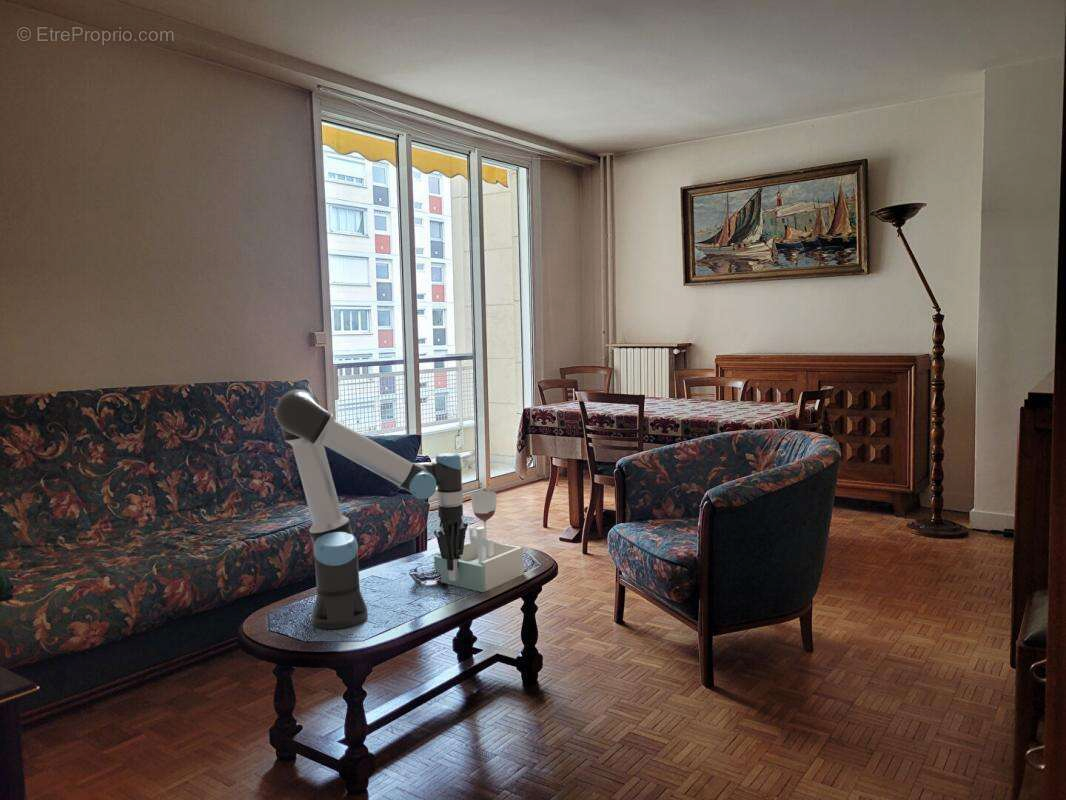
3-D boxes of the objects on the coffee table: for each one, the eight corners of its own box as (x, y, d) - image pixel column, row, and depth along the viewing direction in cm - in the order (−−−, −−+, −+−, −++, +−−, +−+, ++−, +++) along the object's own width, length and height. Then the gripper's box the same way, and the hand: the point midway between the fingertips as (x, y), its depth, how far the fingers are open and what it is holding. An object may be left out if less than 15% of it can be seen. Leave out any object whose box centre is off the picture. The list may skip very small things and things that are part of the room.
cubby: (484, 591, 235) (483, 562, 234) (439, 580, 247) (438, 553, 246) (523, 574, 250) (522, 547, 249) (479, 564, 262) (478, 538, 261)
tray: (482, 592, 234) (481, 566, 233) (435, 580, 246) (434, 556, 245) (521, 574, 249) (521, 550, 248) (475, 564, 261) (474, 541, 260)
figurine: (485, 578, 243) (483, 531, 242) (464, 572, 249) (462, 527, 248) (501, 572, 249) (499, 526, 247) (480, 567, 255) (478, 522, 253)
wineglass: (470, 559, 268) (468, 497, 266) (477, 551, 277) (474, 491, 275) (495, 559, 267) (493, 497, 264) (501, 551, 276) (498, 491, 274)
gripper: (455, 499, 243) (458, 572, 245) (426, 506, 233) (429, 583, 235) (473, 501, 238) (476, 576, 240) (444, 509, 228) (447, 587, 230)
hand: (453, 579), depth 237 cm, fingers closed
